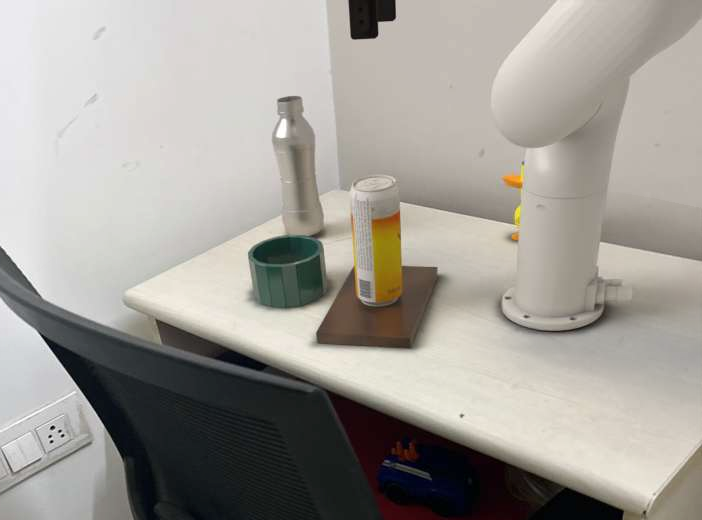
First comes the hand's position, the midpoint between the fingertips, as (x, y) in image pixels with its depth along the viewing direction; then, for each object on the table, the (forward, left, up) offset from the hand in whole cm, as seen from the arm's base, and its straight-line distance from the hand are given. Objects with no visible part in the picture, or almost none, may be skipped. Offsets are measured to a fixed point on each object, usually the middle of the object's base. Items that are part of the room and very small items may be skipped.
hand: (374, 29), depth 93 cm
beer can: (-2, +12, -29) cm, 31 cm away
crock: (+12, +8, -30) cm, 34 cm away
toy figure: (-18, -12, -31) cm, 37 cm away
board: (-2, +12, -30) cm, 33 cm away
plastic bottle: (+16, -12, -31) cm, 36 cm away
